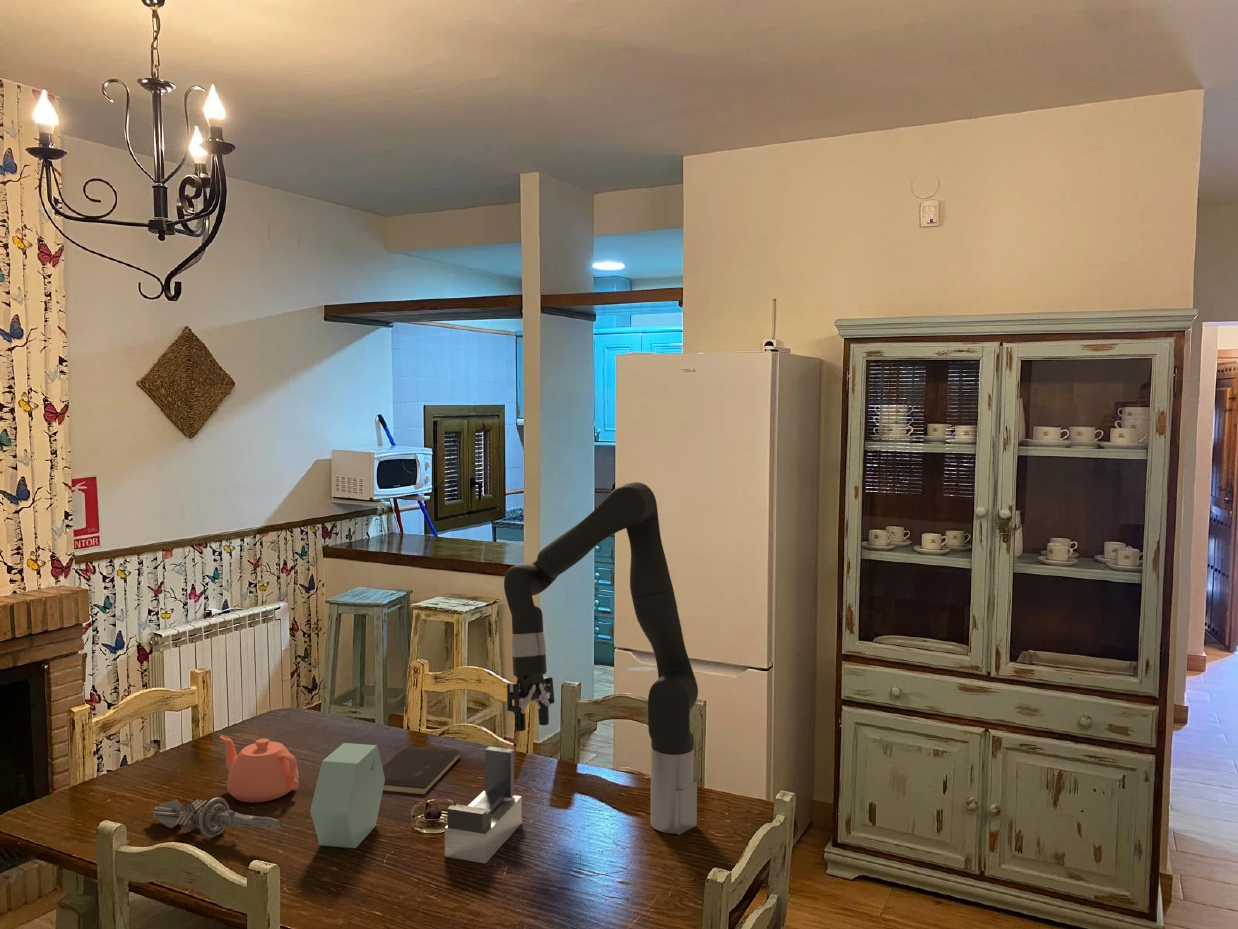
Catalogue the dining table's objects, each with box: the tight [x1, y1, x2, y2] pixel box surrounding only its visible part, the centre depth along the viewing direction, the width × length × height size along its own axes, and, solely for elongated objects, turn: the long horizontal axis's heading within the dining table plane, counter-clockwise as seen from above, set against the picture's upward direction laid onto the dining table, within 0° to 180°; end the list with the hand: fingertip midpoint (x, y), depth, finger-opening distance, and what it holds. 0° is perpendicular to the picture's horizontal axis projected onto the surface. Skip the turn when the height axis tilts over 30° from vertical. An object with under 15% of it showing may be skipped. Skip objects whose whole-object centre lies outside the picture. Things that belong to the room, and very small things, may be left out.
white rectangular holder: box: [444, 790, 523, 864], centre depth 187 cm, size 18×9×10 cm, turn 163°
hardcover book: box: [382, 745, 462, 795], centre depth 221 cm, size 16×23×2 cm
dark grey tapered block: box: [473, 746, 515, 811], centre depth 189 cm, size 11×6×10 cm, turn 163°
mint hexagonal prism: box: [309, 742, 385, 849], centre depth 188 cm, size 17×8×21 cm
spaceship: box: [150, 797, 282, 839], centre depth 187 cm, size 8×35×8 cm
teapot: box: [219, 734, 300, 804], centre depth 209 cm, size 22×16×12 cm
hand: (532, 728), depth 199 cm, fingers open, 8 cm apart
